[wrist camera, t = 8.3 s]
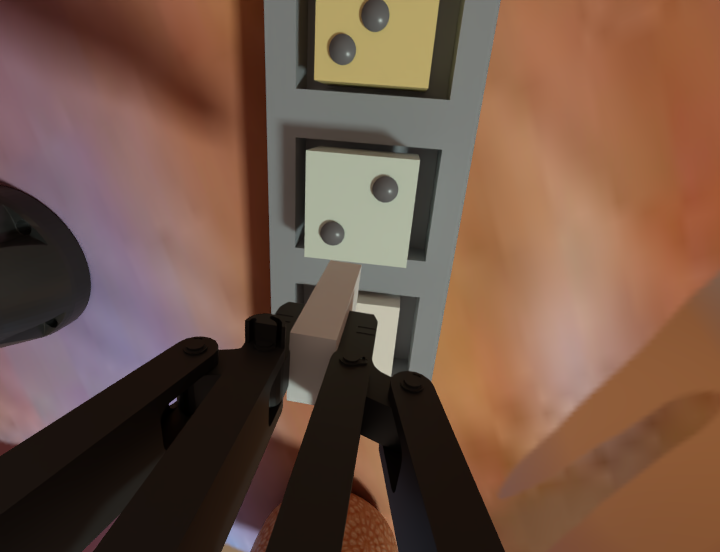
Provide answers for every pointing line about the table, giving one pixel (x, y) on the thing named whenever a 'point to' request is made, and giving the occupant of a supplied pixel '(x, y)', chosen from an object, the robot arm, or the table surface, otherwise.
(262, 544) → the planter
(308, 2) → the tile board
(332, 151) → the tile two
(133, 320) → the table surface
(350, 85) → the tile three
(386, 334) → the tile one
